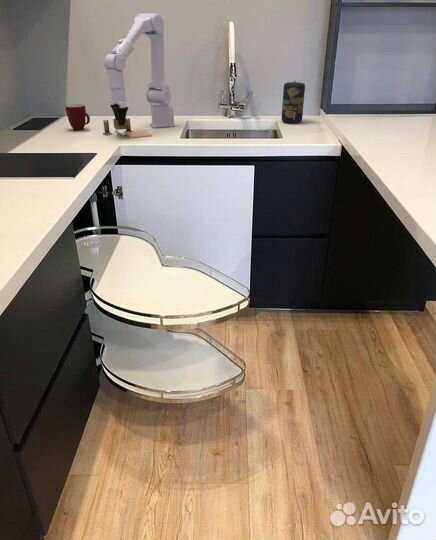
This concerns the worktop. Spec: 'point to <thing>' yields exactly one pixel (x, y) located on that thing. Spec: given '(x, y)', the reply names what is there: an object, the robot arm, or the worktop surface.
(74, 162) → the worktop surface
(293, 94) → the canister
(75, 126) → the mug
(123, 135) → the grey flat l-shaped piece
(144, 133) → the pad
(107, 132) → the post
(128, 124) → the post
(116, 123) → the open wooden crate
